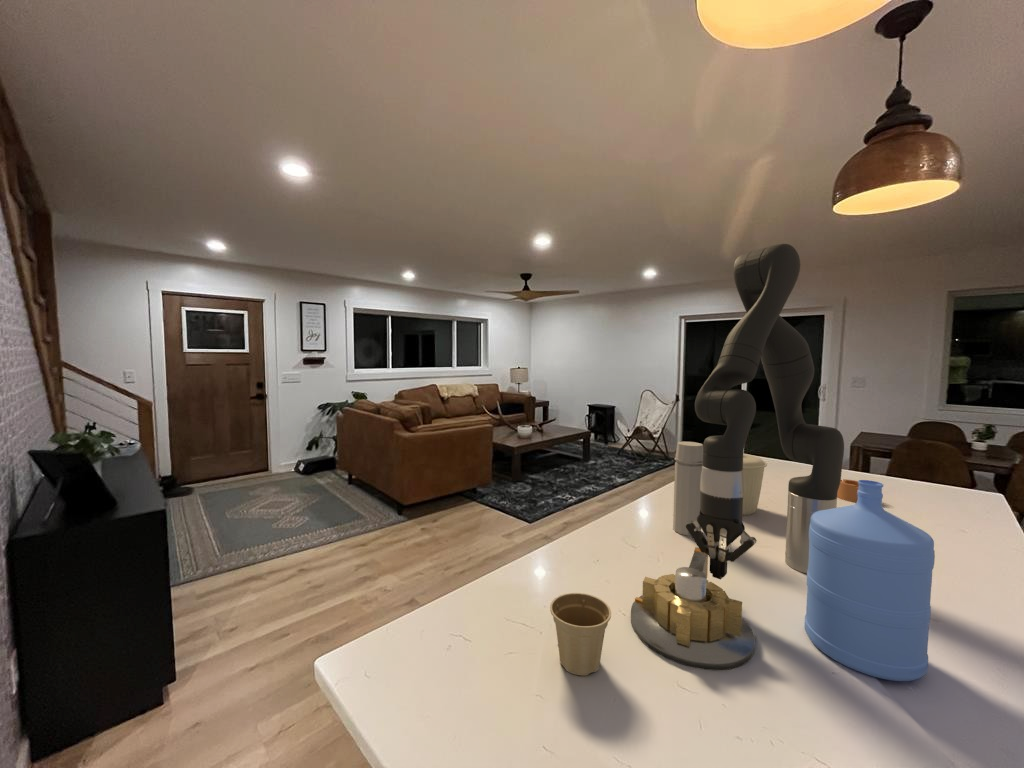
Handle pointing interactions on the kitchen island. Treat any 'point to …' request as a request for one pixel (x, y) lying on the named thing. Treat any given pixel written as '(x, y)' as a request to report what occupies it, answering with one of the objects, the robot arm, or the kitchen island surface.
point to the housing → (699, 653)
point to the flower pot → (580, 630)
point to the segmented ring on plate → (692, 607)
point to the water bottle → (687, 485)
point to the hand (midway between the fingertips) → (718, 576)
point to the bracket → (848, 490)
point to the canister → (752, 482)
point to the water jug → (870, 588)
